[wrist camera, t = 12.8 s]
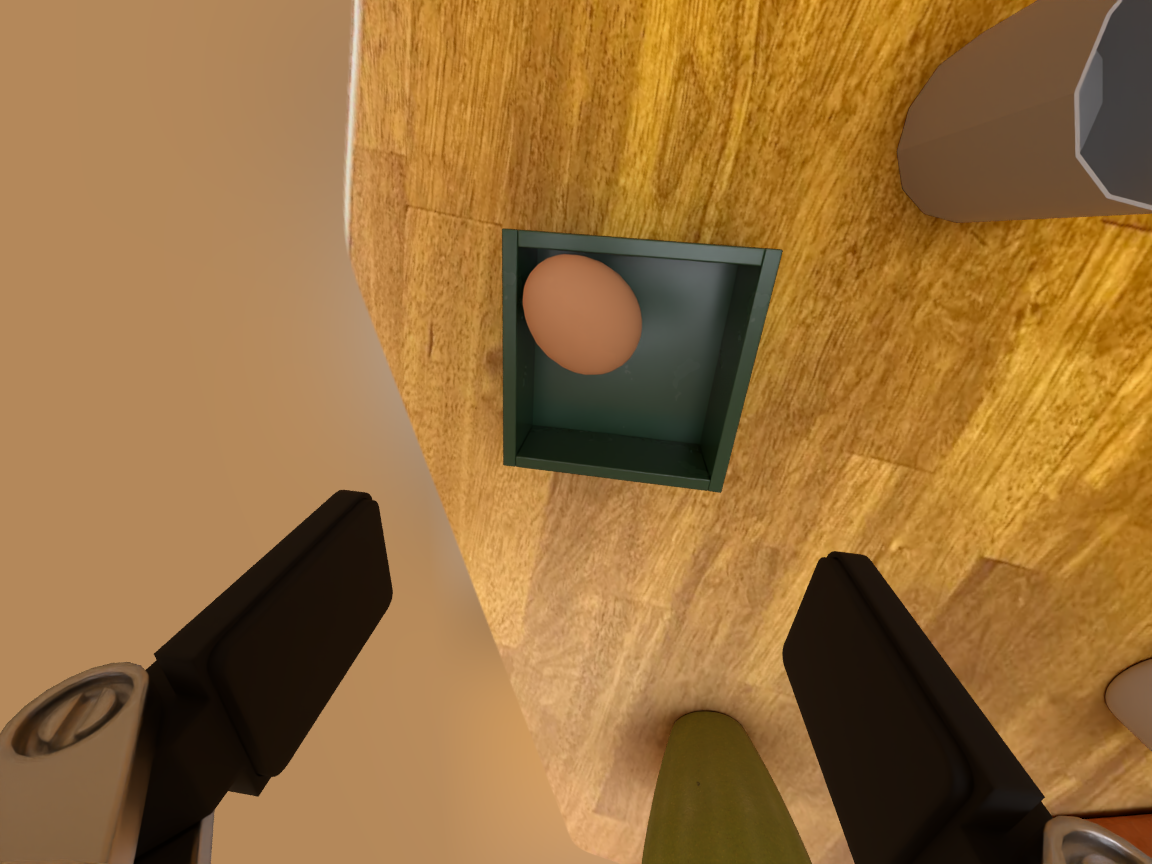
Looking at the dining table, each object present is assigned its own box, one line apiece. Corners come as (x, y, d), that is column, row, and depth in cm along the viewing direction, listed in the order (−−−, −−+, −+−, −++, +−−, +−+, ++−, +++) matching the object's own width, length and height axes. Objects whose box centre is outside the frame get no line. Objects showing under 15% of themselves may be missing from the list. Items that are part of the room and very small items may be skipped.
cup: (1138, 49, 20) (1566, -113, 11) (1015, 238, 23) (1258, 239, 14) (960, 1, 20) (1235, -199, 11) (865, 197, 23) (1011, 172, 14)
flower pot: (634, 767, 48) (633, 995, 34) (631, 679, 42) (629, 911, 27) (774, 781, 46) (837, 1032, 31) (792, 691, 40) (881, 949, 25)
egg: (636, 287, 27) (567, 196, 20) (676, 355, 24) (614, 279, 17) (565, 340, 29) (479, 274, 22) (596, 408, 26) (510, 358, 19)
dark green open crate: (524, 429, 32) (503, 465, 27) (527, 230, 26) (501, 228, 21) (707, 451, 31) (721, 493, 26) (753, 247, 25) (783, 249, 20)
